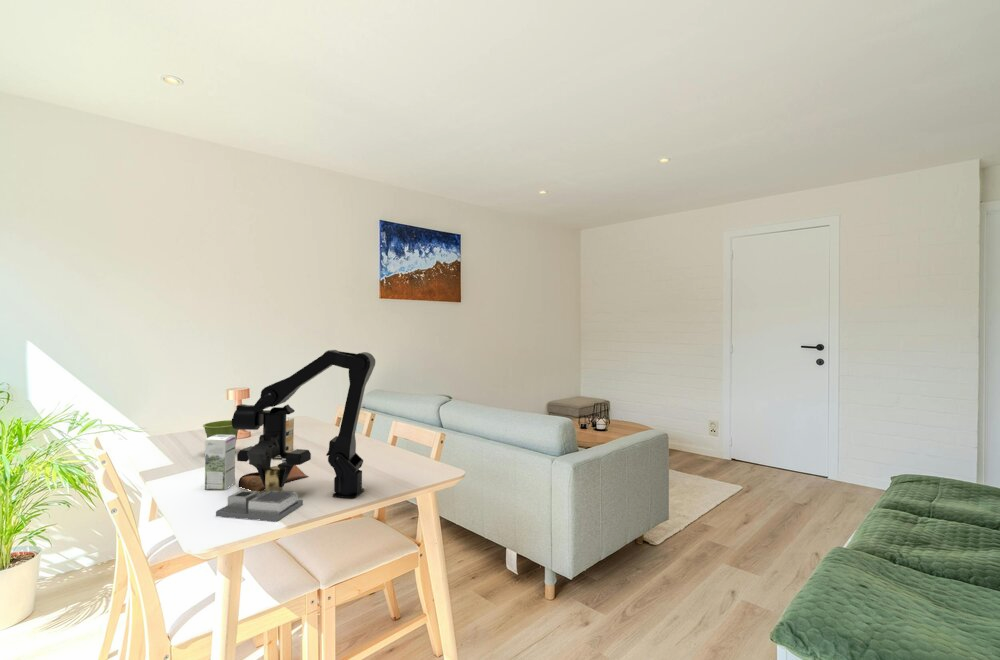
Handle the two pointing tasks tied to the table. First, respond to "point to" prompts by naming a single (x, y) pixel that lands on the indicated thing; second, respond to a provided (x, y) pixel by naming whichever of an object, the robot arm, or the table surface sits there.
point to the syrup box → (219, 462)
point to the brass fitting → (272, 479)
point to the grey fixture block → (261, 505)
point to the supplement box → (291, 433)
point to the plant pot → (220, 428)
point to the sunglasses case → (256, 484)
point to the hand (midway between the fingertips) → (273, 486)
